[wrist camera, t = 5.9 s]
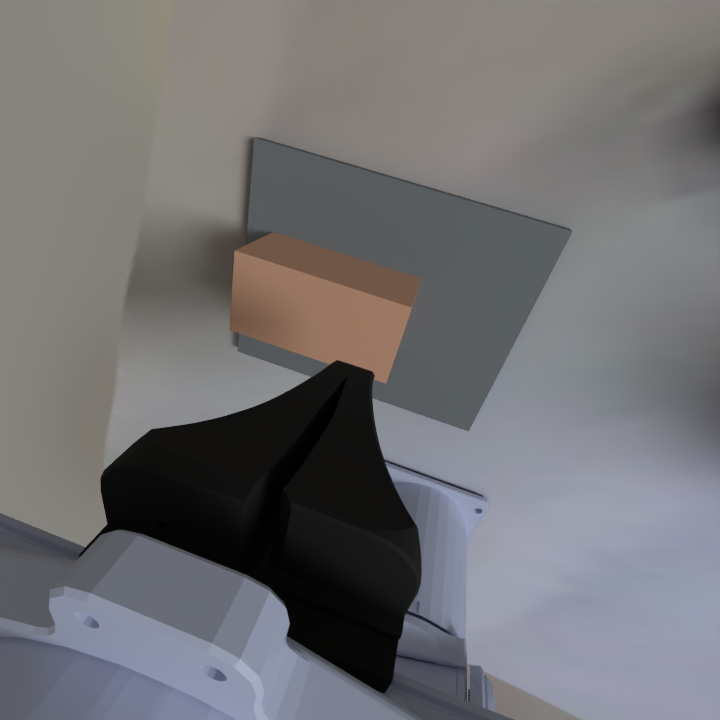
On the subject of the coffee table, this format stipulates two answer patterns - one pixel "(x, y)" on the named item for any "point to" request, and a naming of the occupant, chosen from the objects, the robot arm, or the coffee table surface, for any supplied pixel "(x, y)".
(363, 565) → the robot arm
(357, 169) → the mat
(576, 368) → the coffee table surface
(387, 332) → the tall block
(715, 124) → the coffee table surface
